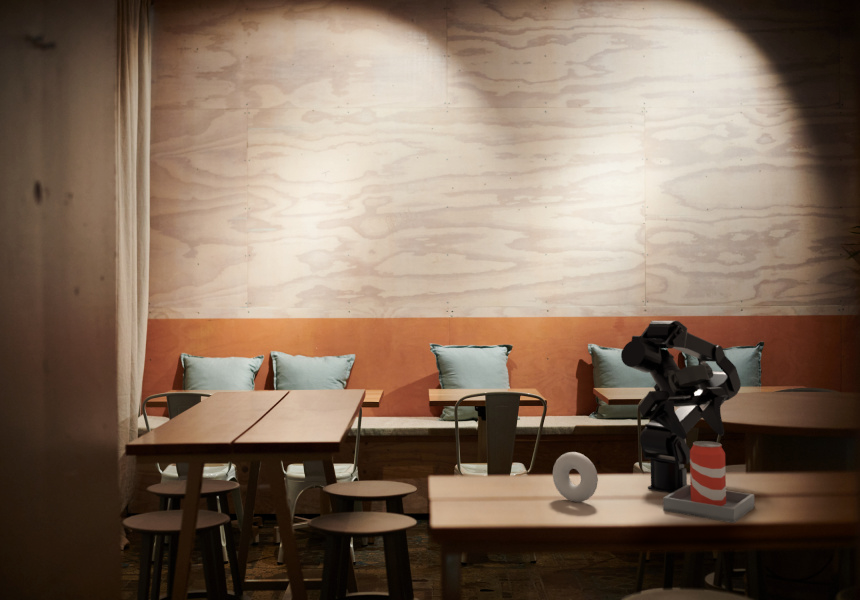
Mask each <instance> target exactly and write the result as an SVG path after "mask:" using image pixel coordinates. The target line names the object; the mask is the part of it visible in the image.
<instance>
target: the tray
mask: <svg viewBox="0 0 860 600" xmlns="http://www.w3.org/2000/svg"><path fill="white" fill-rule="evenodd" d="M662 500H663V501H662V503H663V505H662V506H663V507H662V508H663V512H669V513H670V512H671V513H675V514H681V515H686V516H693V517H698V518H703V519H704V518H705V519H709V520H715V521H721V522H727V523H732V524H735V523H736V522H738V521H739V520H740V519H742V518H743V517H744V516H745V515H747V514H748V513H749V512H750V511H752V510H753V509H755V494H754V493H747V492H740V491H732V490H727V489H726V504H725V505H723V506H717V505H711V504H705V503H699V502H693V501H691V485H690V484H687V485H686V486H684V487H682V488H680V489H678V490H676V491H674V492H673V493H669V494H667V495H665V496H664V497H663V498H662Z"/></svg>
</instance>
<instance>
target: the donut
mask: <svg viewBox="0 0 860 600" xmlns="http://www.w3.org/2000/svg"><path fill="white" fill-rule="evenodd" d="M573 469H574V470H575V471H577V472H578V474H579V477H580V482H579V484H574V483H573V482H572V481H571V478H570V471H571V470H573ZM552 480H553V483H554V486H555V488H556V490H557V491H558V492H559V494H560V495H561V496H562V497H563V498H564V499H566V500H568V501H571V502H575V503H582V502H585V501H588V500H589V499H591V497H592V496H593V495H595V493H596V490H597V488H598V482H599V477H598V472H597V469H596V467H595V465H594V463H593V462H592V461H591V460H590V459H589V458H588V457H587V456H585V455H584V453H583V454H582V453H580V452H576V451H570V452H565V453H563V454H562V455H560V456H559V457H558V458H557V459H556V461H555V462H554V465H553V469H552Z"/></svg>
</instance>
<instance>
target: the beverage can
mask: <svg viewBox="0 0 860 600" xmlns="http://www.w3.org/2000/svg"><path fill="white" fill-rule="evenodd" d="M722 446H723V445H722V444H721V443H720V442H715V441H708V440H707V441H706V440H703V441H702V440H700V441H699V440H698V441H694V442H692V446H691V448H690V462H689V469H690V470H689V472H690V474H689V475H690V476H689V478H690V479H689V480H690V481H689V483H690V484H689V485H691V501H693V502H699V503H705V504H711V505H717V506H723V505H725V504H726V490H727V488H726V485H727V483H726V479H727V477H726V452H725V450H724V449H723V448H722Z"/></svg>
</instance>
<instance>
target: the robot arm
mask: <svg viewBox="0 0 860 600" xmlns="http://www.w3.org/2000/svg"><path fill="white" fill-rule="evenodd" d="M667 349H674V350H677V351H678V352H682V353H684V354H685V355H689V356H692V357H693V358H696V359H697V361H698V364H697V365H694V364H693V365H688V366H685V367H683V368H680V367H679V366H678V364H677V362H676V360H674V358H675V356H674V355H673V354H672V353H670V351H669V350H667ZM620 357H621V361H622V363H623V364H624V365H625V366H626V367H629V368H632V369H635V370H636V371H640V372H642V373H647V374H648V373H649V374H650V375H651V377H652V378H653V380H654V382H655V385H654V386H653V389H654V390H649V391H648V392H647V394H646V395H645V396H644V398H643V399H642V400H641V402H640V403H639V405H638V406H639V407H638V408H639V409H638V411H639V412H640V414H641V416H642V418H645V419H646V418H648V419H649V420H650V421H649V422H648V423H645V424H644V426H645V427H644V429H643V430H642V431H641V434H640V435H639V436H640V437H639V442H640V446H641V449H642V450H641V451H642V454H643V458H644V459H645V460H650V485H649V486H647V490H651V491H657V492H662V493H663V492H664V493H669V494H671V493H673V492H674V491H676V490H678V489H680V488H682V487H684V486H686V485H688V480H687V479H688V476H687V468H685V465H688V464H689V463H690V450H691V448H689V446H688V445H687V440H686V439H687V438H688V432H690V431H691V430H692V429H693V427H694V426H695V425H696V424H697V423H699V421H700V420H702V419H703V420H704V421H705V422H706V424H707V425H709V426H710V428H711V429H712V430H713V431H714V432H715V433H716V434H717V435H718V436H719V437H722V436H723V435H724V434H725V429H724V424H723V419H722V412H721V407H722V405H723V404H724V403H725V402H727V401H729V400H731V399H733V398H734V397H736V395H737V394H738V393H739V391H740V389H741V386H742V385H741V379H740V376H739V373H738V370H737V367H736V366H735V365H734V363H733V362H732V361H731V360H730V358H728V357H727V356H726V354H725V351H724V349H723V347H722V346H721V345H719V344H715V343H712V342H710V341H708V340H705V339H703V338H700V337H699V336H696V335H694V334H692V333H690V332H689V331H688V327H687V326H685V325H684V324H683V323H682V322H681V321H679V320H650V323H649V324H648V325H647V326H646V328H645V329H644V331H643V332H642V333H641V335H632V336H631V340H630V341H629V342H627V343H626V344H625V346H624V347H623V349H622V350H621V353H620ZM707 362H711V363H712V362H715V364H716V365H717V367H719V368H720V370H721V371H718V370H713V368H712V367H711V365H710V364H709V363H707ZM675 408H677V409H676V410H675Z"/></svg>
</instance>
